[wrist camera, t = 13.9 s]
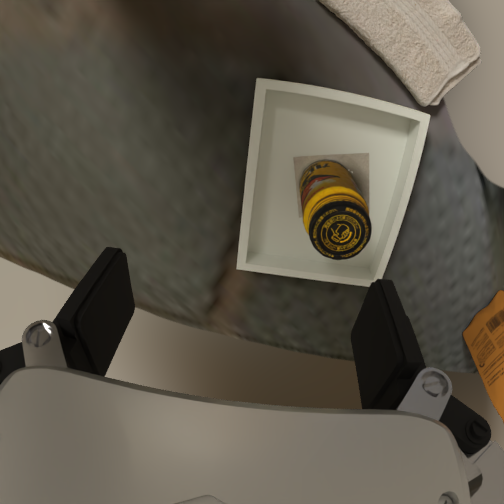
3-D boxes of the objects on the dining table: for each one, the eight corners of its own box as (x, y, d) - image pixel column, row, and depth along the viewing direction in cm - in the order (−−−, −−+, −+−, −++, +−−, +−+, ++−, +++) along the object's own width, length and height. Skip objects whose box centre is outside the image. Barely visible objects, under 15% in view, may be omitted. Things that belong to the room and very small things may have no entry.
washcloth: (422, 111, 31) (433, 116, 28) (307, -2, 26) (310, -9, 23) (480, 56, 25) (493, 56, 23) (375, -57, 20) (382, -66, 18)
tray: (259, 77, 30) (256, 78, 28) (418, 110, 30) (430, 115, 27) (240, 253, 42) (236, 269, 39) (372, 272, 42) (378, 287, 39)
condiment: (293, 156, 34) (296, 197, 24) (368, 152, 33) (404, 191, 23) (298, 216, 38) (302, 277, 28) (368, 212, 36) (397, 269, 26)
